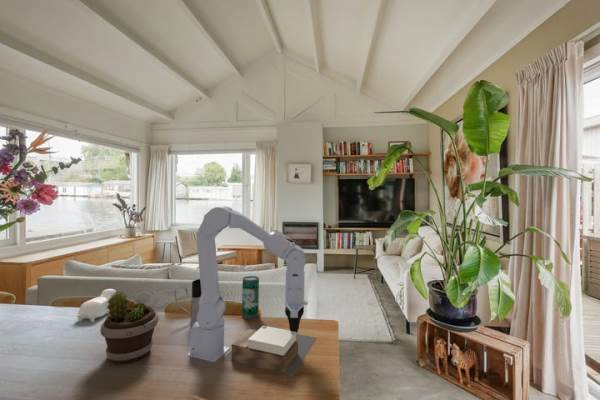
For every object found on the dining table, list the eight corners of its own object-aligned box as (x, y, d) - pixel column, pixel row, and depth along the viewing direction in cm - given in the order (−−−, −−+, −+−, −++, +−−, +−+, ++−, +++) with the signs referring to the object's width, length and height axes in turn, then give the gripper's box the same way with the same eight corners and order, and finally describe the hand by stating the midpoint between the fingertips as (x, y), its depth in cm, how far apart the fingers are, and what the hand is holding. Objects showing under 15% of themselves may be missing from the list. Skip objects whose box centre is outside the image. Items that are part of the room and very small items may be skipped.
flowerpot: (160, 337, 92) (161, 277, 92) (154, 363, 78) (155, 292, 78) (108, 345, 87) (109, 281, 87) (92, 374, 72) (93, 298, 72)
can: (240, 318, 108) (240, 279, 108) (245, 312, 114) (246, 275, 114) (255, 319, 107) (255, 280, 107) (259, 313, 113) (260, 276, 113)
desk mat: (221, 360, 79) (221, 359, 79) (258, 327, 100) (258, 326, 100) (292, 378, 72) (292, 376, 72) (316, 338, 93) (316, 337, 93)
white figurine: (99, 329, 104) (125, 300, 118) (93, 311, 101) (120, 284, 115) (78, 328, 105) (106, 300, 118) (70, 310, 101) (100, 283, 115)
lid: (247, 347, 78) (248, 338, 78) (262, 333, 86) (263, 325, 86) (283, 355, 74) (284, 346, 74) (295, 339, 82) (296, 331, 82)
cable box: (231, 360, 79) (231, 344, 79) (249, 343, 88) (249, 329, 88) (284, 373, 73) (285, 356, 73) (297, 354, 83) (298, 338, 83)
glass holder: (213, 324, 102) (213, 284, 102) (171, 328, 99) (172, 286, 99) (214, 315, 110) (215, 277, 110) (176, 318, 107) (177, 279, 107)
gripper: (308, 295, 77) (308, 344, 77) (307, 280, 91) (306, 321, 91) (283, 294, 77) (282, 343, 77) (286, 279, 91) (285, 321, 91)
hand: (294, 331), depth 84 cm, fingers closed
